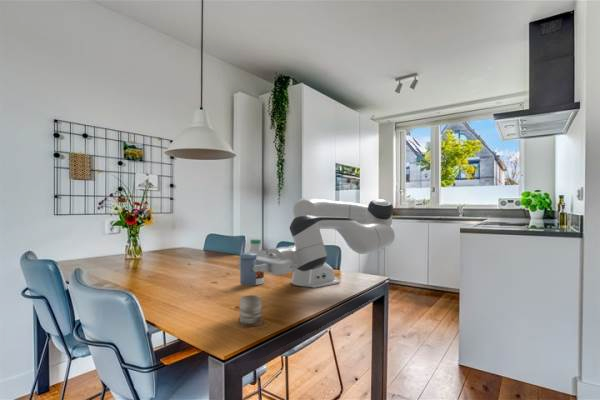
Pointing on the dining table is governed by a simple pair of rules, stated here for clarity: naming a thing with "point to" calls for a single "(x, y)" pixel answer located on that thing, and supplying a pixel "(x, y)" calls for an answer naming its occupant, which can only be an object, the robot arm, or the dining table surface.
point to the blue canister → (247, 268)
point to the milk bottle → (254, 248)
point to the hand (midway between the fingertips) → (246, 267)
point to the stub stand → (250, 311)
